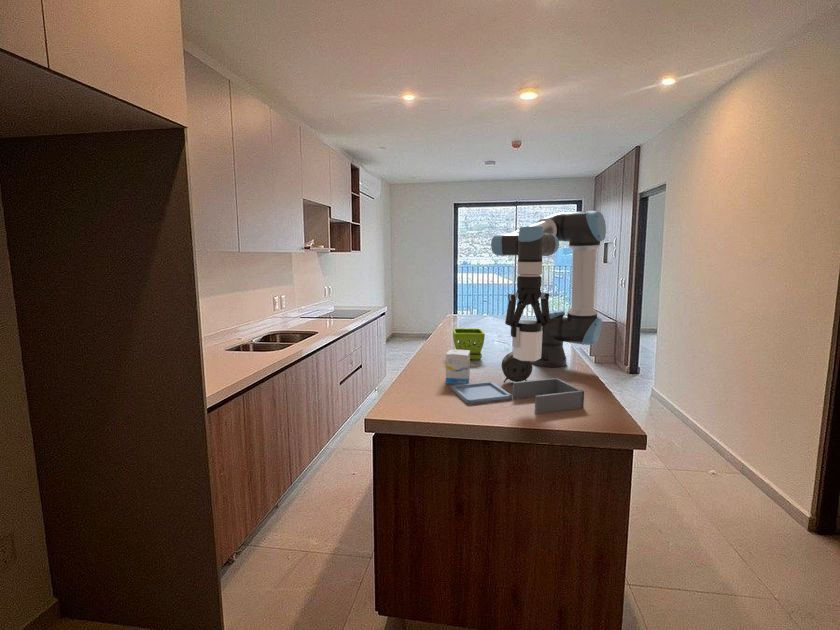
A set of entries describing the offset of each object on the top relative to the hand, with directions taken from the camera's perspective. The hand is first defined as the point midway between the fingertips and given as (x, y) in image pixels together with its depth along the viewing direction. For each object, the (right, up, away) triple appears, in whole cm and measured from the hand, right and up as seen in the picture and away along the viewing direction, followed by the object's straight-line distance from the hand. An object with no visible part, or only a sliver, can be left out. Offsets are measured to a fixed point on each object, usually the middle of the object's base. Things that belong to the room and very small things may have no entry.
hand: (527, 345), depth 140 cm
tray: (-14, -18, +10) cm, 25 cm away
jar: (0, -4, +1) cm, 4 cm away
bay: (+7, -19, +2) cm, 20 cm away
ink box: (-20, -16, +25) cm, 36 cm away
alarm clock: (+1, -16, +22) cm, 27 cm away
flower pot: (-13, -10, +61) cm, 63 cm away
